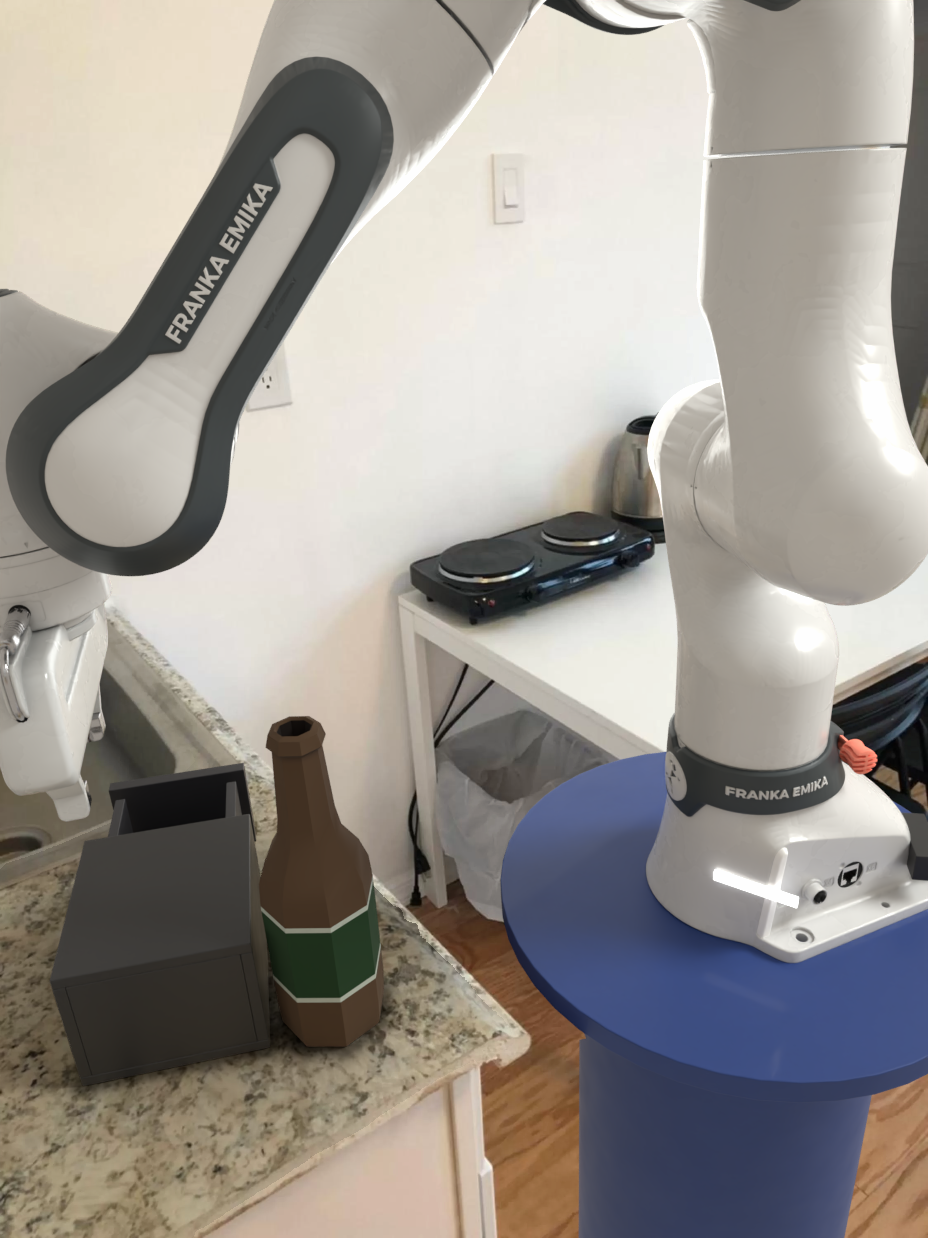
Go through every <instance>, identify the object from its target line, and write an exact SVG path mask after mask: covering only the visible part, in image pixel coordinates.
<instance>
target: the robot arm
mask: <svg viewBox="0 0 928 1238" xmlns="http://www.w3.org/2000/svg"><path fill="white" fill-rule="evenodd" d="M542 5H544V6H546V7H549V8H550V9H553V10H555V11H558V12H560V13H562V14H564V15H566V16H569V17H570V18H572V19H574V20H576V21H578V22H579V23H581V24H583V25H584V26H585V25H586V26H587V27H590V28H592V29H594V30H597V31H601V32H603V33H608V34H612V35H620V36H621V35H622V36H634V35H636V36H637V35H643V34H647V33H649V32H652V31H655V30H657V29H660V28H662V27H664V26H666V25H670V24H673V23H677V22H681V21H683V20H686V19H688V20H687V21H686V26H687V28H688V29H689V30H690V32H691V34H692V35H693V37H694V39H695V41H696V45H697V47H698V49H699V52H700V55H701V58H702V64H703V68H704V72H705V79H706V92H707V94H709V96H708V103H707V113H706V122H705V133H704V134H705V136H704V148H703V157H705V158H709V159H703V164H702V165H703V166H702V167H703V168H702V185H701V199H700V200H701V202H700V218H699V219H700V221H699V222H700V223H699V240H698V241H699V242H698V260H697V261H698V262H697V278H696V279H697V281H696V294H697V299H698V300H697V301H698V306H699V310H700V312H701V314H702V316H703V318H704V320H705V322H706V325H707V328H708V331H709V333H710V338H711V341H712V345H713V349H714V353H715V354H714V355H715V358H716V364H717V370H718V376H719V379H709V380H704V381H699V382H696V383H693V384H691V385H688V386H686V387H684V388H683V389H681V390H679V391H678V392H677V393H675V394H674V395H673V396H672V397H671V398H669V399H668V400H667V401H666V403H664V404H663V406H662V408H661V409H660V410H659V412H658V413H657V415H656V417H655V418H654V420H653V423H652V425H651V427H650V431H649V434H648V439H647V450H646V451H647V453H646V454H647V461H648V465H649V469H650V471H651V474H652V477H653V480H654V483H655V486H656V489H657V493H658V496H659V503H660V510H661V514H662V521H663V530H664V538H665V546H666V555H667V561H668V567H669V575H670V582H671V587H672V594H673V600H674V609H675V619H676V630H677V631H676V633H677V634H676V635H677V647H676V648H677V649H676V675H675V697H674V698H675V699H674V712H673V714H672V715H671V717H670V718H669V719H670V720H669V721H668V729H667V741H666V750H665V752H666V758H665V779H666V790H667V797H666V803H665V807H664V812H663V817H662V821H661V824H660V828H659V832H658V835H657V838H656V841H655V843H654V846H653V848H652V850H651V852H650V854H649V857H648V859H647V863H646V877H647V881H648V884H649V886H650V889H651V891H652V892H653V894H654V896H655V897H656V898H657V900H658V901H659V902H660V903H661V904H662V906H663V907H665V908H666V909H667V910H668V911H669V912H670V913H671V914H673V915H674V916H675V917H676V918H678V919H679V920H681V921H683V922H684V923H686V924H688V925H690V926H691V927H693V928H695V929H698V930H700V931H702V932H705V933H707V934H710V935H713V936H716V937H720V938H724V939H728V940H732V941H737V942H741V943H745V944H748V945H751V946H753V947H755V948H757V949H758V950H760V951H762V952H764V953H766V954H768V955H770V956H772V957H774V958H776V959H778V960H780V961H783V962H787V963H799V962H802V961H804V960H807V959H809V958H812V957H814V956H816V955H819V954H821V953H824V952H826V951H828V950H831V949H833V948H836V947H838V946H840V945H843V944H845V943H848V942H850V941H852V940H855V939H857V938H860V937H862V936H864V935H867V934H869V933H872V932H874V931H876V930H879V929H881V928H884V927H886V926H888V925H891V924H893V923H896V922H898V921H900V920H903V919H905V918H908V917H910V916H912V915H915V914H917V913H920V912H922V911H924V910H927V909H928V820H927V817H926V815H925V813H915V812H911V813H903V812H900V810H899V809H898V808H897V806H896V805H895V804H894V802H895V801H893V800H892V799H891V798H890V796H888V795H887V794H886V793H885V791H884V790H882V789H881V788H880V787H879V786H878V785H877V784H876V783H875V782H874V781H872V780H871V779H869V778H868V777H867V776H866V775H865V774H868V773H870V772H872V771H873V768H875V767H876V766H877V763H878V755H877V754H876V752H875V751H874V750H872V749H871V748H869V747H867V746H865V744H864V742H863V740H860V739H858V738H852V739H848V738H846V737H845V736H844V734H845V731H844V730H843V729H842V728H840V726H838V724H836V723H835V722H834V721H832V711H833V705H834V697H835V690H836V682H837V675H838V666H839V659H840V645H839V643H840V642H839V638H838V633H837V628H836V626H835V623H834V621H833V618H832V617H831V615H830V613H829V610H828V607H827V605H826V604H828V605H832V606H841V607H843V606H847V607H848V606H856V605H862V604H865V603H869V602H872V601H875V600H879V599H880V598H882V597H884V596H886V595H888V594H889V593H891V592H893V591H894V590H895V589H897V588H899V587H900V586H901V585H903V583H905V582H906V581H907V580H909V578H910V577H911V576H912V575H913V574H914V573H915V572H916V571H917V569H919V567H920V566H921V564H922V563H923V562H924V561H925V558H926V557H927V556H928V464H927V462H926V460H925V459H924V457H923V455H922V453H921V452H920V450H919V447H918V445H917V443H916V441H915V439H914V437H913V434H912V431H911V428H910V427H911V426H910V424H909V420H908V417H907V412H906V407H905V405H904V399H903V393H902V389H901V383H900V377H899V370H898V363H897V357H896V350H895V349H896V348H895V342H894V333H893V332H894V331H893V320H892V281H893V280H892V278H893V266H894V258H895V248H896V239H897V238H896V237H897V229H898V219H899V211H900V203H901V195H902V188H903V179H904V171H905V164H906V157H907V149H908V148H907V147H896V146H905V145H906V146H907V145H908V141H909V140H908V139H909V132H910V131H909V130H910V121H911V112H912V102H913V101H912V100H913V99H912V98H913V86H914V67H915V66H914V61H915V55H914V54H915V23H914V22H915V14H914V11H915V10H914V7H915V6H914V0H273V3H272V5H271V8H270V10H269V12H268V15H267V18H266V20H265V23H264V25H263V29H262V32H261V35H260V38H259V40H258V44H257V47H256V50H255V54H254V57H253V60H252V63H251V66H250V69H249V72H248V76H247V78H246V83H245V87H244V89H243V93H242V97H241V100H240V104H239V107H238V111H237V113H236V118H235V121H234V122H233V123H234V124H233V127H232V130H231V133H230V136H229V138H228V142H227V144H226V146H225V149H224V152H223V155H222V157H221V159H220V161H219V164H218V166H217V168H216V170H215V173H214V175H213V177H212V178H211V181H210V182H209V184H208V186H207V187H206V189H205V191H204V192H203V194H202V196H201V198H200V199H199V201H198V203H197V204H196V206H195V208H194V210H193V211H192V213H191V215H190V216H189V217H188V219H187V221H186V222H185V224H184V226H183V228H182V230H181V231H180V233H179V234H178V236H177V238H176V239H175V241H174V243H173V245H172V246H171V248H170V250H169V251H168V253H167V255H166V256H165V258H164V260H163V261H162V263H161V264H160V267H159V268H158V270H157V271H156V274H155V275H154V277H153V279H152V280H151V282H150V283H149V284H148V287H147V288H146V290H145V292H144V294H143V295H142V297H141V298H140V300H139V302H138V303H137V305H136V306H135V308H134V310H133V311H132V313H131V315H130V316H129V318H128V319H127V321H126V322H125V323H124V325H122V326H123V327H122V328H121V329H120V330H119V332H117V331H113V330H111V329H110V330H109V329H105V328H102V327H98V326H95V325H92V324H89V323H86V322H82V321H79V320H78V319H74V318H71V317H70V316H67V315H64V314H62V313H60V312H57V311H54V310H52V309H50V308H48V307H46V306H44V305H43V304H40V303H39V302H37V301H36V300H34V299H33V298H31V297H30V296H28V295H27V294H26V293H24V292H22V291H18V290H17V289H9V288H0V771H1V774H2V777H3V780H4V783H5V785H6V786H7V788H8V789H9V790H10V791H11V792H12V793H14V795H17V796H22V797H23V796H30V795H36V794H42V793H46V794H47V796H48V797H49V798H50V799H51V800H52V801H53V805H54V807H55V810H56V813H57V817H58V818H59V820H61V821H62V822H65V823H66V822H67V823H68V822H72V821H78V820H83V819H86V818H87V817H89V815H90V812H91V808H92V807H91V806H92V802H93V801H92V800H93V798H92V795H91V793H90V787H89V784H88V780H83V777H82V775H81V771H82V766H83V762H84V757H85V752H86V748H87V744H89V743H91V742H99V741H101V740H102V739H103V738H104V736H105V731H106V726H107V725H106V721H105V717H104V713H103V709H102V697H101V686H100V683H101V678H102V674H103V669H104V664H105V661H106V656H107V651H108V648H109V631H108V630H109V627H108V619H107V613H106V606H105V602H107V600H108V599H109V598H110V597H111V595H112V593H113V585H112V581H111V576H116V577H117V576H118V577H143V576H150V575H155V574H159V573H160V574H161V573H164V572H166V571H169V570H172V569H174V568H176V567H178V566H180V565H182V564H184V563H186V562H187V561H189V560H191V559H192V558H193V557H194V556H195V555H197V554H198V553H199V552H200V551H201V550H202V549H203V548H204V547H205V546H206V545H207V544H208V543H209V542H210V540H211V539H212V537H213V536H214V535H215V533H216V531H217V530H218V527H219V526H220V523H221V521H222V519H223V517H224V512H225V510H226V509H225V508H226V505H227V501H228V500H227V499H228V494H229V485H230V475H231V467H232V464H233V461H234V457H235V453H236V449H237V442H238V438H239V432H240V421H241V419H242V416H243V414H244V412H245V409H246V407H247V405H248V403H249V401H250V399H251V397H252V396H253V394H254V392H255V390H256V388H257V386H258V385H259V383H260V382H261V380H262V378H263V377H264V375H265V373H266V371H267V370H268V368H269V367H270V365H271V363H272V362H273V360H274V358H275V357H276V355H277V354H278V352H279V350H280V348H281V347H282V345H283V343H284V342H285V340H286V338H287V336H288V335H289V334H290V332H291V330H292V329H293V327H294V325H295V324H296V322H297V320H298V319H299V317H300V315H301V313H302V312H303V310H304V308H306V306H307V304H308V302H309V300H310V299H311V298H312V296H313V294H314V292H315V291H316V289H317V287H318V285H319V284H320V282H321V281H322V279H323V277H324V276H325V275H326V273H327V271H328V269H329V268H330V266H331V265H332V264H333V262H334V261H335V260H336V259H337V257H338V255H340V253H341V252H342V251H343V250H344V248H345V247H346V246H347V245H348V243H349V242H351V240H353V238H354V237H355V236H356V235H357V234H358V233H359V232H360V230H362V229H363V227H364V226H365V225H367V223H368V222H369V221H370V220H371V219H372V218H373V217H375V216H376V215H377V214H378V213H379V212H380V211H381V210H382V209H383V208H384V207H386V205H388V204H389V203H390V202H391V201H392V200H393V199H394V198H395V197H396V196H398V195H399V194H400V193H401V192H402V191H403V190H404V189H405V188H406V187H407V185H409V184H410V183H411V181H413V179H414V178H416V177H417V176H418V175H419V174H420V172H421V171H423V169H424V168H425V167H426V166H427V165H428V164H429V163H430V162H431V161H432V159H433V158H434V157H435V156H436V155H437V154H438V153H439V152H440V150H441V149H442V148H443V147H444V146H445V144H446V143H447V142H448V141H449V139H450V138H451V137H453V134H455V132H456V131H457V129H458V128H459V127H460V125H461V124H462V123H463V121H464V120H465V119H466V117H468V115H469V113H470V112H471V110H472V109H473V108H474V106H475V105H476V104H477V102H478V101H479V100H480V98H481V96H482V94H483V93H484V91H485V90H486V88H487V87H488V85H489V84H490V81H491V80H492V78H493V77H494V76H495V74H496V72H497V71H498V69H499V67H500V66H501V64H502V63H503V61H504V59H505V58H506V56H507V54H508V53H509V51H510V49H511V47H512V46H513V44H514V42H515V40H517V37H518V35H519V34H520V33H521V31H522V30H523V29H524V27H525V25H526V24H527V23H528V22H529V21H530V20H531V18H532V17H533V16H534V14H535V13H536V12H537V11H538V10H539V9H540V7H541V6H542ZM800 941H802V942H800Z"/></svg>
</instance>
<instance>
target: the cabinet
mask: <svg viewBox="0 0 928 1238" xmlns="http://www.w3.org/2000/svg"><path fill="white" fill-rule="evenodd" d="M255 842H256V841H254V836H253V830H252V824H251V819H250V814H246V815H239V816H233V817H227V818H221V819H215V820H209V821H203V822H197V823H191V824H185V825H179V826H173V827H166V828H160V829H154V830H148V831H142V832H136V833H130V834H124V835H118V836H112V837H108V836H107V837H100V838H95V839H87V840H84V841H83V845H82V850H81V854H80V859H79V862H78V865H77V870H76V873H75V878H74V882H73V886H72V890H71V893H70V897H69V902H68V906H67V909H66V914H65V918H64V922H63V925H62V929H61V933H60V937H59V940H58V946H57V950H56V953H55V954H56V955H55V957H54V961H53V966H52V970H51V973H50V978H49V984H50V988H51V990H52V993H53V998H54V1000H55V1003H56V1007H57V1010H58V1013H59V1016H60V1019H61V1023H62V1026H63V1029H64V1032H65V1036H66V1038H67V1039H66V1040H67V1042H68V1045H69V1047H70V1052H71V1054H72V1057H73V1061H74V1064H75V1067H76V1070H77V1074H78V1077H79V1079H80V1082H81V1086H82V1087H86V1086H90V1085H96V1084H100V1083H105V1082H110V1081H114V1080H119V1079H125V1078H129V1077H134V1076H138V1075H143V1074H148V1073H152V1072H158V1071H163V1070H168V1069H173V1068H177V1067H182V1066H186V1065H187V1066H188V1065H192V1064H196V1063H201V1062H205V1061H206V1062H207V1061H211V1060H215V1059H220V1058H226V1057H229V1056H236V1055H241V1054H245V1053H248V1052H249V1053H250V1052H253V1051H259V1050H264V1049H268V1048H270V1047H271V1023H270V992H269V960H268V959H269V958H268V955H269V953H268V945H267V940H266V934H265V929H264V923H263V917H262V912H261V906H260V893H259V881H260V877H261V871H260V864H259V859H258V853H257V847H256V843H255Z"/></svg>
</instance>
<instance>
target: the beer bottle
mask: <svg viewBox="0 0 928 1238" xmlns="http://www.w3.org/2000/svg"><path fill="white" fill-rule="evenodd" d="M325 739H326V731H325V730H324V726H323V725H322V723H321V722H319V721H318V720H316V719H315V718H313V717H312V716H310V715H294V716H293V715H291V716H286V717H285V718H283V719H281V720H278V721H276V722H273V723H272V724H271V726H270V728H269V731H268V733H267V735H266V742H265V749H267V751H270V752H271V761H272V772H273V785H274V786H273V787H274V795H275V796H274V797H275V807H276V808H275V809H276V833H275V835H274V836H273V837H272V839H271V842H270V845H269V848H268V850H267V853H266V856H265V859H264V862H263V864H262V869H261V872H260V875H261V877H260V881H259V893H260V906H261V912H262V917H263V923H264V929H265V934H266V940H267V952H268V955H269V961H270V967H271V973H272V980H273V984H274V989H275V994H276V995H275V996H276V1000H277V1005H278V1009H279V1013H280V1017H281V1020H282V1022H283V1023H284V1025H286V1026H287V1028H289V1030H290V1031H291V1032H293V1034H294V1035H295V1036H297V1038H298V1039H299V1040H300V1041H301V1042H302V1043H303V1044H304V1045H305V1046H306V1047H307V1048H309V1047H310V1048H311V1047H313V1048H314V1047H315V1048H319V1047H321V1048H324V1047H325V1048H327V1047H328V1048H332V1047H333V1048H334V1047H335V1048H336V1047H339V1048H342V1047H346V1048H347V1047H348V1046H350V1045H352V1043H354V1042H355V1041H356V1040H358V1039H359V1038H360V1037H362V1036H364V1035H365V1034H366V1033H367V1032H368V1031H370V1030H371V1029H373V1028H375V1026H377V1025H378V1024H379V1022H380V1019H381V1013H382V1007H383V999H384V993H385V973H384V972H385V971H384V962H383V954H382V944H381V937H380V925H379V919H378V918H379V917H378V909H377V901H376V891H375V884H374V883H375V882H374V873H373V870H372V865H371V861H370V855H369V853H368V851H367V850H366V848H365V847H364V845H363V844H362V842H361V840H360V838H359V837H358V836H356V835H355V834H354V833H353V832H352V831H351V830H349V828H347V827H346V826H345V825H344V824H342V821H341V819H340V815H339V813H338V810H337V807H336V805H335V800H334V795H333V791H332V790H333V789H332V785H331V781H330V775H329V771H328V766H327V761H326V756H325V751H324V746H323V744H324V741H325Z"/></svg>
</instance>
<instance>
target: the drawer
mask: <svg viewBox="0 0 928 1238" xmlns="http://www.w3.org/2000/svg"><path fill="white" fill-rule="evenodd" d="M108 795H109V798H110V803H111V806H112V815H111V816H112V817H111V821H110V825H109V829H108V834H107V837H112V836H118V835H124V834H130V833H136V832H142V831H148V830H154V829H160V828H166V827H173V826H179V825H185V824H191V823H197V822H203V821H209V820H215V819H221V818H227V817H233V816H239V815H246V814H250V819H251V824H252V830H253V836H254V841H255V842H257V831H256V824H255V819H254V813H253V808H252V802H251V796H250V790H249V784H248V778H247V774H246V768H245V762H238V763H233V764H226V765H219V766H213V767H208V768H200V769H193V770H188V771H180V772H174V773H168V774H162V775H161V774H160V775H156V776H147V777H142V778H137V779H129V780H123V781H116V782H110V783H109V786H108Z"/></svg>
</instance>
